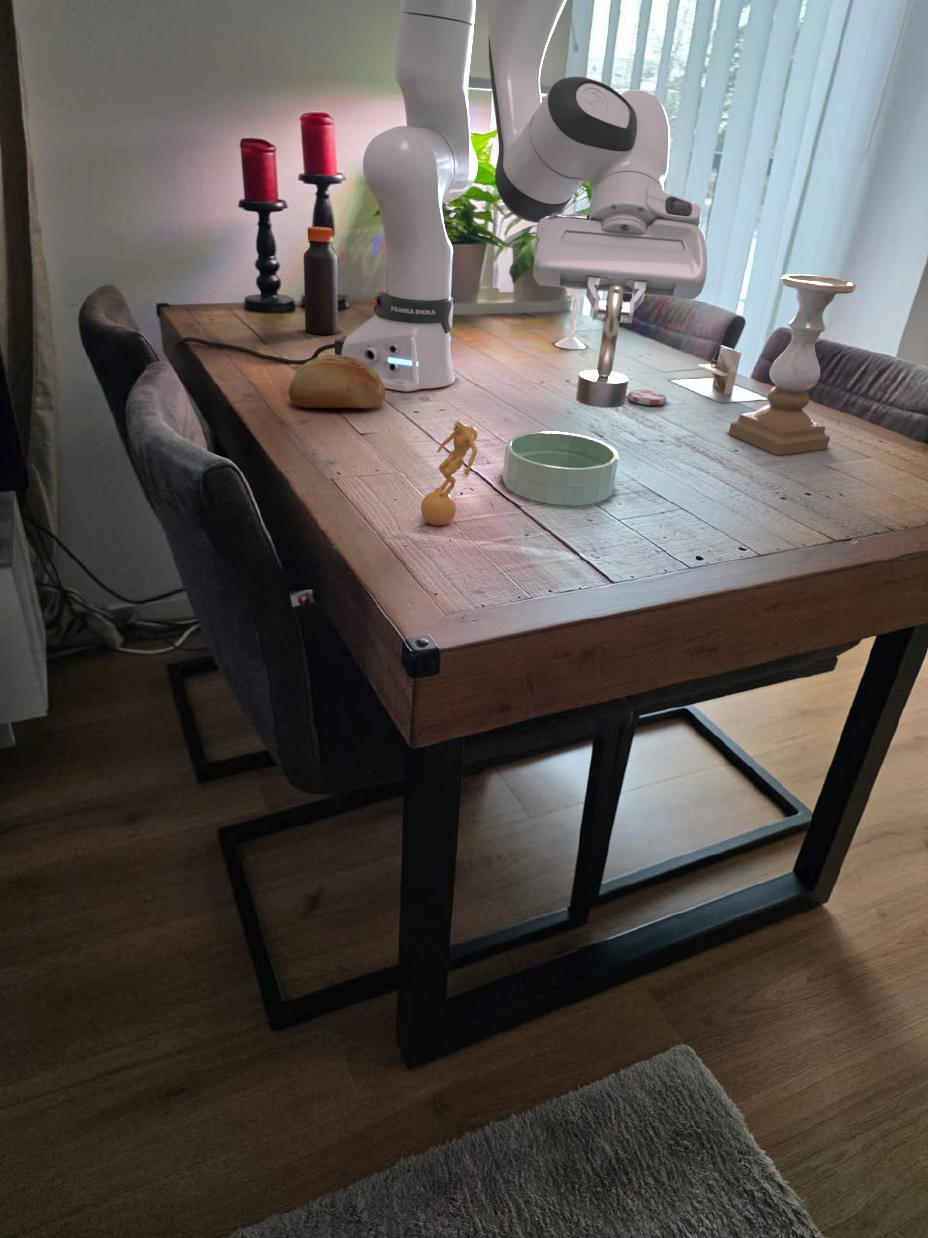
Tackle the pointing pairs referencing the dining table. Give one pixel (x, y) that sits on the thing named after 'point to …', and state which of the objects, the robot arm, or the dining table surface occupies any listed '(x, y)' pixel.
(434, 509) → the figurine
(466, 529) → the dining table surface
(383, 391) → the bread roll
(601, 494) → the bowl
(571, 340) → the champagne flute
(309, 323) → the bottle
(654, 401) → the lollipop
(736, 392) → the architectural model
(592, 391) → the meat pounder
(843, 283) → the candle holder
